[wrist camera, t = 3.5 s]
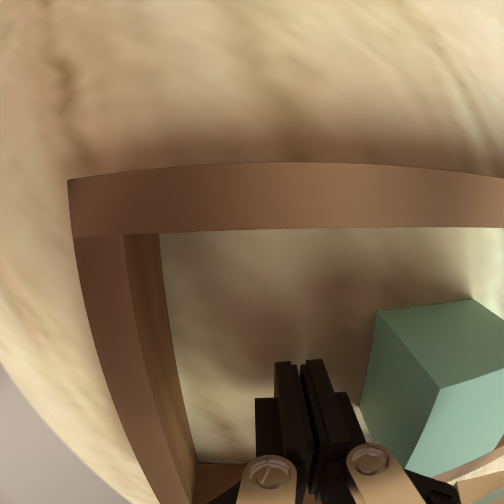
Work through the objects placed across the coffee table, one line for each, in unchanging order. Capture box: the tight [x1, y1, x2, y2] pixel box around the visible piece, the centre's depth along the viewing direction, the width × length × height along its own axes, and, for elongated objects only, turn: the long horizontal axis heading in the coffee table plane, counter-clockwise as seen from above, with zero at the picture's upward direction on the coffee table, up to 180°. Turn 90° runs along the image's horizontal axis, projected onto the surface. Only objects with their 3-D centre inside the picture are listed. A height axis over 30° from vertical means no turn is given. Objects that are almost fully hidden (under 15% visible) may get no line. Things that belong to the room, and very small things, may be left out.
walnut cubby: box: [67, 162, 504, 504], centre depth 10 cm, size 20×16×3 cm
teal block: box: [359, 299, 504, 478], centre depth 9 cm, size 5×5×5 cm
